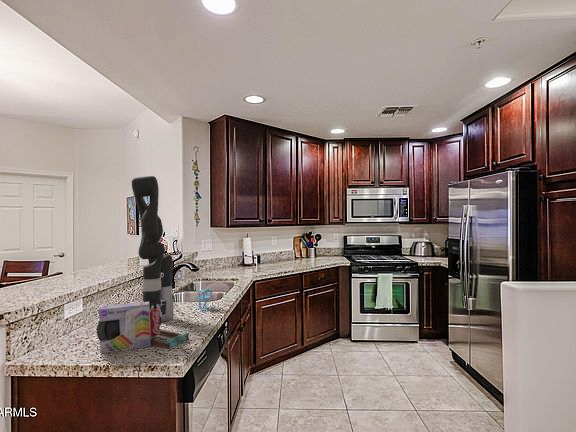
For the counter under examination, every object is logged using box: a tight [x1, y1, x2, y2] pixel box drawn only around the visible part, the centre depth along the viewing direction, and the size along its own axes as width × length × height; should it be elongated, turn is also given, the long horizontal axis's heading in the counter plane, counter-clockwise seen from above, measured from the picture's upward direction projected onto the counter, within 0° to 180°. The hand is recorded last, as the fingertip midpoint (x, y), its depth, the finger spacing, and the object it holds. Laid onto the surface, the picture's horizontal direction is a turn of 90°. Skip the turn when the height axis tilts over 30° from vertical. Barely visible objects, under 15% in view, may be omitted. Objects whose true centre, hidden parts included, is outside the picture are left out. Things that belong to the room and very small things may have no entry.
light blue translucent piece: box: [196, 288, 215, 312], centre depth 198 cm, size 8×8×12 cm
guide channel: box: [151, 328, 190, 350], centre depth 147 cm, size 11×21×3 cm, turn 61°
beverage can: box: [150, 308, 161, 338], centre depth 149 cm, size 6×6×12 cm
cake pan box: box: [96, 301, 152, 353], centre depth 138 cm, size 19×5×18 cm, turn 109°
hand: (152, 327), depth 149 cm, fingers closed on beverage can, 6 cm apart
